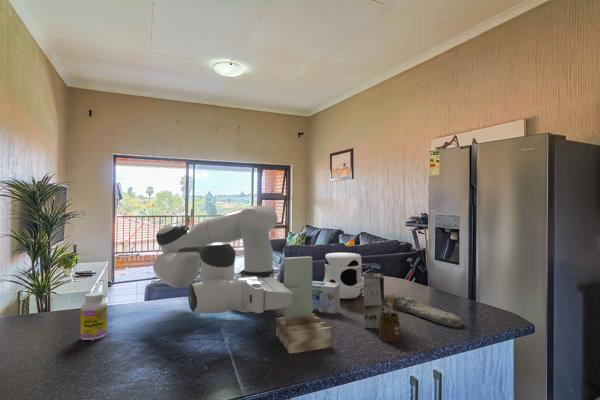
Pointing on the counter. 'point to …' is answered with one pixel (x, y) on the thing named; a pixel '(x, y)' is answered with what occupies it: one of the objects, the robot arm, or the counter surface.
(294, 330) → the oak offcut
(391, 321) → the utensil holder
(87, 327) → the supplement bottle
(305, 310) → the tall panel
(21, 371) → the counter surface
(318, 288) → the light bulb box
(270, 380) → the counter surface
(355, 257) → the spotted cookie jar
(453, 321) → the elongated rock
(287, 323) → the walnut offcut
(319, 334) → the birch rack
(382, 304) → the coffee box
